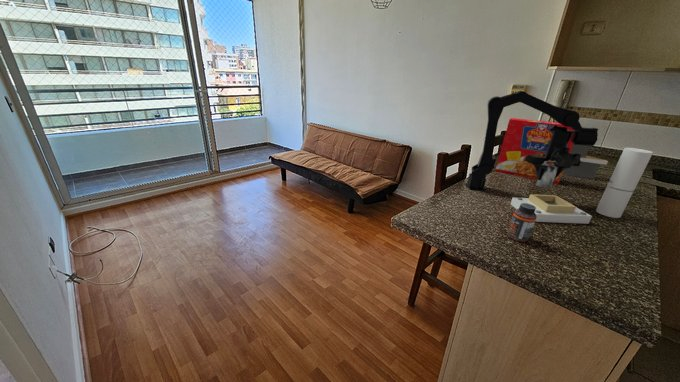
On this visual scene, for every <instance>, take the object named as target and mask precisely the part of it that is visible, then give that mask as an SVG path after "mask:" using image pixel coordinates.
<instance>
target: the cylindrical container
mask: <svg viewBox="0 0 680 382" xmlns="http://www.w3.org/2000/svg"><path fill="white" fill-rule="evenodd" d="M653 153H654V151H651V150H646V149H643V148H642V149H641V148H635V147H624V148H623V150H622V153H621V154H620V157H619V159H618V162H617V163H616V166H615V168H614V170H613V172H612V175H611V176H610V179H609V181H608V183H607V185H606V188H605V189H604V192H603V194H602V197H601V198H600V200H599V202H598V205H597V207H596V209H595V212H597V214H600V215H602V216H605V217H609V218H615V219H618V218H622V215H623V213H624V212H625V209H626V207H627V205H628V203H629V202H630V199H631V197H632V196H633V193H634V191H635V189H636V187H637V186H638V183H639V181H640V179H641V178H642V176H643V174H644V171H645V170H646V167H647V165H648V164H649V162H650V160H651V157H652V156H653Z"/></svg>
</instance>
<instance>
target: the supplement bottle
mask: <svg viewBox="0 0 680 382" xmlns="http://www.w3.org/2000/svg"><path fill="white" fill-rule="evenodd" d="M535 209H536V207H535V206H533V205H531V204H528V203H521V204H520V207H519V209H516V208H515V210H514V211H513V215H512V217H511V219H510V223H509V226H508V228H507V232H506V233H507V236H508V237H509V238H510V239H512V240H514V241H515V242H516V241H517V242H522V243H524V242H527V241H529V240H530V236H531V234H532V231H533V229H534V226H535V223H536V222H535V220H536V218H537V216H536V214H535V213H534V212H535Z"/></svg>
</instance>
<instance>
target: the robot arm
mask: <svg viewBox="0 0 680 382" xmlns="http://www.w3.org/2000/svg"><path fill="white" fill-rule="evenodd" d="M517 103H522V104H524V105H526V106H528V107H529V108H533V109H535V110H537V111H539V112H541V113H543V114H546V115H547V116H548V117H550V118H551V119H552V120H554V121H555V122H556V123H559V124H561V125H563V126H566V127H570V128H572V129H574V130H575V131H574V130H567V128H566V127H557V125H556V124H554V125H553V126H551V127H549V128H548V130H550V131H553V134H552V137H551V140H550V143H549V144H546V146H547V147H548V149H547V152H546V154H543V156H544V157H541V156H538V155H530V154H528V155H527V156H526V158H525V161H527V162H529V163H531V164H533V165H534V166H535V169H536V174H537V179H538V180H540V179H541V177H542V175H543V172H544V169H545V168H547V167H548V166H546V162H552V163H554V165H557V166H558V170H557V173H556V175H555V178H554V180H555V179H556V177H557V176H558V175H559V174H560V173H561V172H562V171H563V170H565V169H567V168H571V166H580V163H581V161H580V158H581V155H580V154H570V153H569V147H567V145H568V142H569V140H570V141H571V142H572V143H573V145H582V146H590V147H594V146H595V145H596V144H597V141H598V140H599V139H598V134H599V133H598V131H599V128H597V127H583V126H582V125H581V123H580V113H579V112H577V111H575V110H573V109H569V108H565V107H561V106H557V105H553V104H552V103H549V102H547V101H544V100H542V99H540V98H538V97H535V96H534V95H531V94H529V93H528V92H526V91H524V90H518V91H516V92H513V93H510V94H506V95H503V96H498V95H497V96H492V97H491V98H490V99H488V101H487V125H486V129H485V137H484V140H483V141H484V143H483V147H482V148H483V149H482V152H481V154H480V157H479V159H478V161H477V164H475V165H473V166H472V167H471V173H469V174H468V178H467V181H466V183H464V185H465V186H466V187H467V188H468V189H469V190H472V191H473V190H474V191H476V190H477V191H485V185H486V183H487V175H489V174H490V173H492V172H493V169H495V165H496V164H495V163H496V161H497V158H496V156H495V155H493V150H494V145H495V140H496V135H497V129H498V122H499V121H500V120H499V119H500V118H501V115H502V113H503V111H504V108H506V107H509V106H510V107H511V106H512V105H515V104H517ZM571 134H572V135H571ZM570 137H571V138H570Z"/></svg>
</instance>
